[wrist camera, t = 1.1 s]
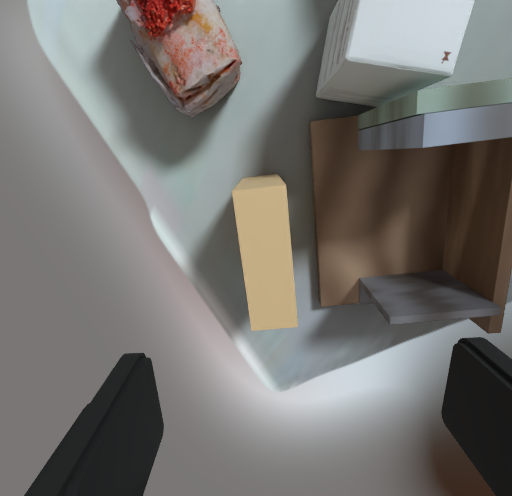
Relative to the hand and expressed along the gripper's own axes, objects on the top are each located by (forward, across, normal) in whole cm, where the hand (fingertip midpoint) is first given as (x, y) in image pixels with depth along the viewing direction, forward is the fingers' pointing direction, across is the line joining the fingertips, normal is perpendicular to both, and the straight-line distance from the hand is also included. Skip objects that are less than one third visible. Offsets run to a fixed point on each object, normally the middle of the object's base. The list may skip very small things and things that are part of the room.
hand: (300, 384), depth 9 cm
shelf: (+27, -14, 0) cm, 30 cm away
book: (+27, 0, +1) cm, 27 cm away
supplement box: (+27, -10, -16) cm, 33 cm away
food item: (+27, +7, -18) cm, 34 cm away
